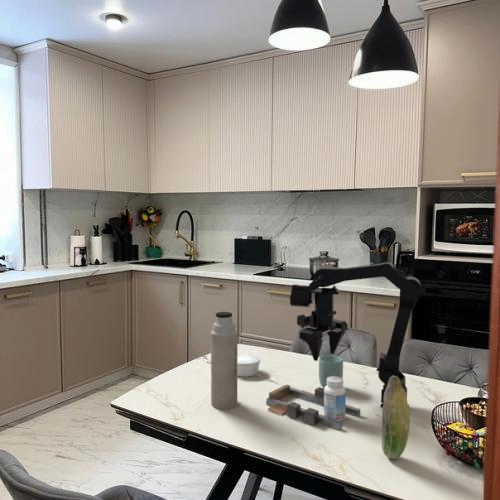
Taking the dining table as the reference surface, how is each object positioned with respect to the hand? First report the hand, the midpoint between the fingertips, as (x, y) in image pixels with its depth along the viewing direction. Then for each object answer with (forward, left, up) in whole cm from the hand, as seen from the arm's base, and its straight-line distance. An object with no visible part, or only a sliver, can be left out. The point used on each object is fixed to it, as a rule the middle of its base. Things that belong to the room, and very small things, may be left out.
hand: (324, 357), depth 142 cm
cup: (+2, -8, -13) cm, 16 cm away
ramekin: (+33, 0, -13) cm, 36 cm away
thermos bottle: (+20, +24, -13) cm, 34 cm away
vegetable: (-32, +20, -13) cm, 40 cm away
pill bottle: (-10, +10, -13) cm, 19 cm away
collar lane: (-2, +10, -13) cm, 16 cm away
